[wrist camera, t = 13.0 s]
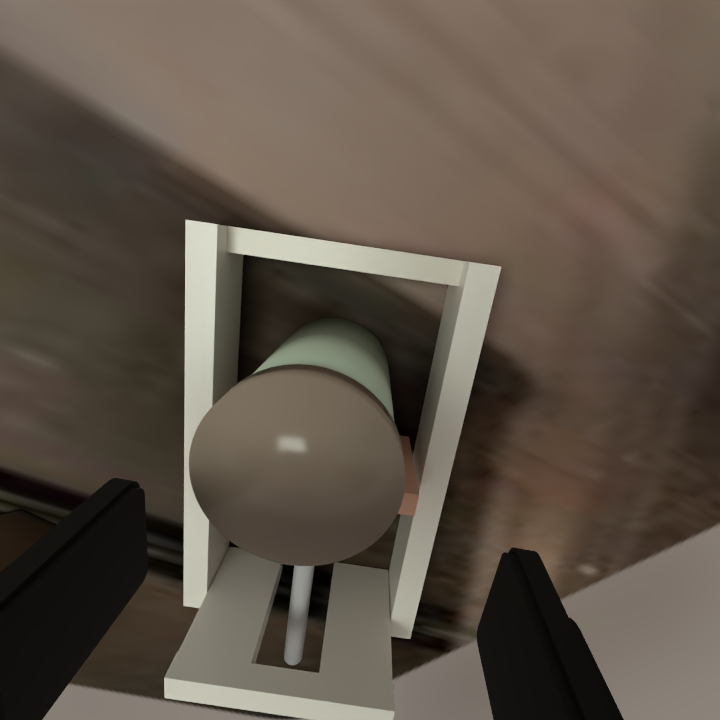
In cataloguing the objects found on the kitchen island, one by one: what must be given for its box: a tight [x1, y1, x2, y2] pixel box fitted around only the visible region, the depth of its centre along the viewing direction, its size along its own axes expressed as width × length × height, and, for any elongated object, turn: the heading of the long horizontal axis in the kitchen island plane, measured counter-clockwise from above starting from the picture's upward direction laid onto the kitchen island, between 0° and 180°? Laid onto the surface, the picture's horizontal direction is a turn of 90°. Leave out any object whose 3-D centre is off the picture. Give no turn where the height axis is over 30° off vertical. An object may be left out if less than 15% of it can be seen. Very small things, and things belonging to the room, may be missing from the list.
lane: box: [164, 220, 501, 720], centre depth 16 cm, size 12×19×7 cm, turn 172°
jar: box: [189, 317, 406, 566], centre depth 14 cm, size 6×6×9 cm
